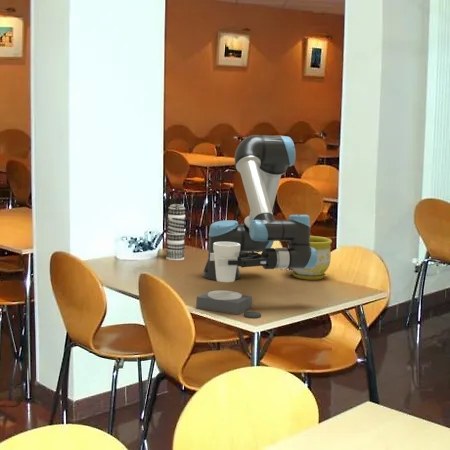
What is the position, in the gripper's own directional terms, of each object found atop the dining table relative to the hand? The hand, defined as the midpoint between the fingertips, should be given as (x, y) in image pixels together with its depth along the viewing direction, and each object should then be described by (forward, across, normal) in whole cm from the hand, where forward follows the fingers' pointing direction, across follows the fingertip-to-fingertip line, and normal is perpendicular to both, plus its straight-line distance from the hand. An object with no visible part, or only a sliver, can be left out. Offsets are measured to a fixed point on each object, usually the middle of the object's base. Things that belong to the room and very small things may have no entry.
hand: (214, 259), depth 287 cm
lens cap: (-11, -12, -18) cm, 24 cm away
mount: (-4, 0, -17) cm, 18 cm away
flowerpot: (-56, +47, -18) cm, 75 cm away
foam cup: (-4, 0, -8) cm, 9 cm away
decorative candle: (-8, +91, -17) cm, 93 cm away
